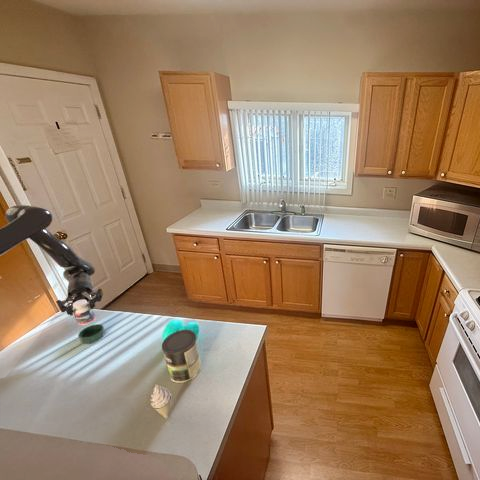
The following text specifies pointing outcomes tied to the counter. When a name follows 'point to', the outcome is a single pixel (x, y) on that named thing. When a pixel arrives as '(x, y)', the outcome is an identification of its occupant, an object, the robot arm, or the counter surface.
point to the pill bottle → (83, 312)
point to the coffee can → (182, 355)
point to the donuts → (179, 328)
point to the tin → (91, 334)
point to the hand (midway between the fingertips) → (81, 310)
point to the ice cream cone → (161, 400)
